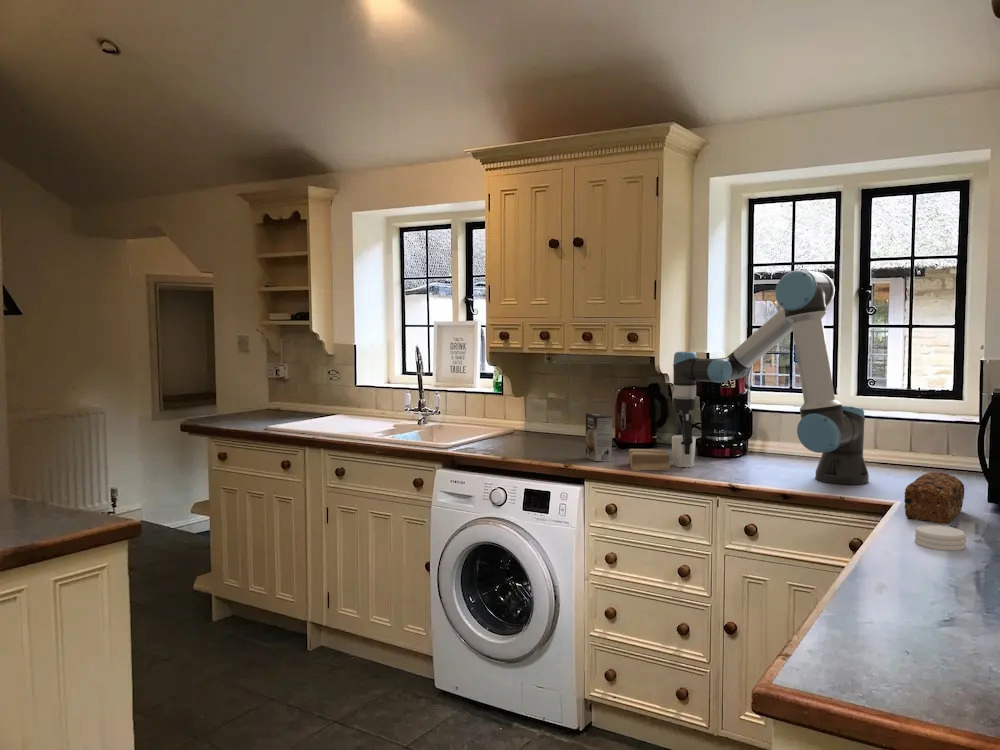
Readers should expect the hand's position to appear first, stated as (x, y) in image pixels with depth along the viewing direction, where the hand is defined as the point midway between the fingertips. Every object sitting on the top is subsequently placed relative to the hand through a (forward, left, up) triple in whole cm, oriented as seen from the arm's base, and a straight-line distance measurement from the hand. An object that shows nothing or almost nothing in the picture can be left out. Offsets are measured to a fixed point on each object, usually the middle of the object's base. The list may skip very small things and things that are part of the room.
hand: (683, 460), depth 274 cm
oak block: (-3, +12, -2) cm, 12 cm away
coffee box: (+11, +28, -2) cm, 30 cm away
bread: (-64, -53, -2) cm, 84 cm away
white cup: (0, 0, -2) cm, 2 cm away
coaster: (-92, -42, -2) cm, 101 cm away
